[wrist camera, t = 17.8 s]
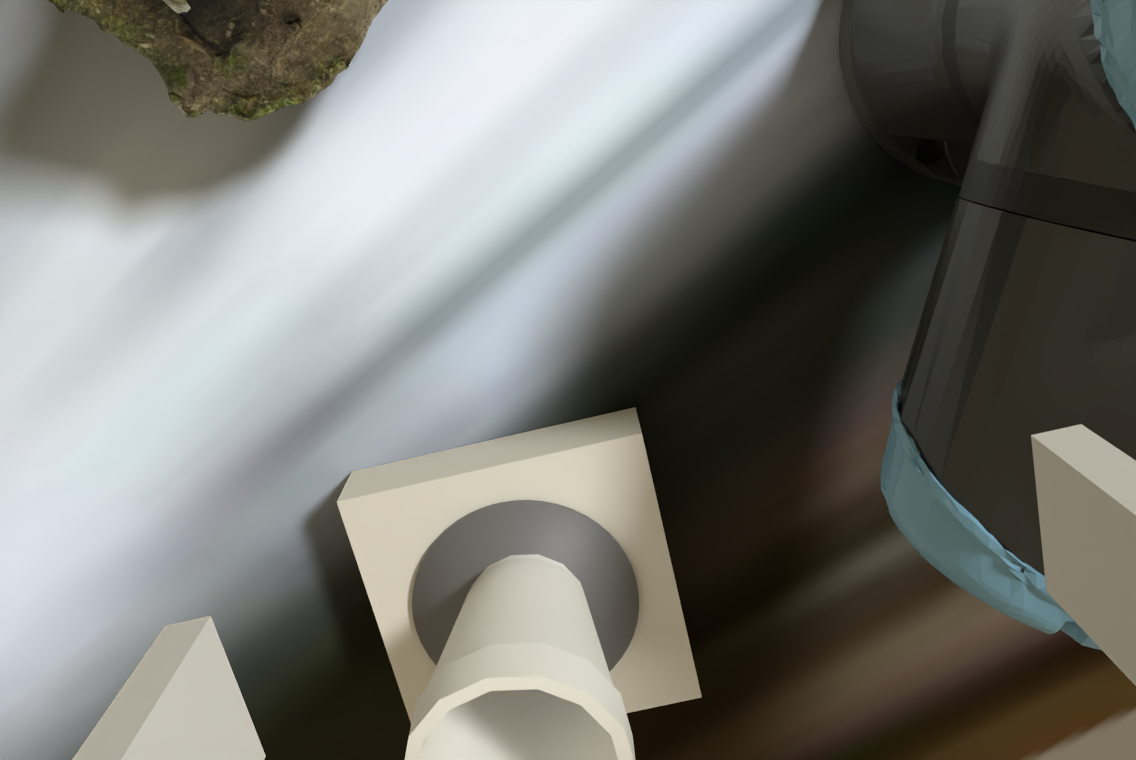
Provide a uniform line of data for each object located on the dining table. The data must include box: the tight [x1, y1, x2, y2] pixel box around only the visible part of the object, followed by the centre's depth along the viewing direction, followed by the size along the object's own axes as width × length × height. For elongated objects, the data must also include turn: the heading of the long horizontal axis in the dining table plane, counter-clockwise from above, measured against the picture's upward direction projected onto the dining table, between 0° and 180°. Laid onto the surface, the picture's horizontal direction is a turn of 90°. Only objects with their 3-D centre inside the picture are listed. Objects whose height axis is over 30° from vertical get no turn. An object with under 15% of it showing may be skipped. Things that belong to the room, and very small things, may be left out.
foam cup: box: [405, 554, 635, 760], centre depth 46 cm, size 10×9×13 cm
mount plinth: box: [337, 407, 702, 723], centre depth 54 cm, size 16×16×4 cm
